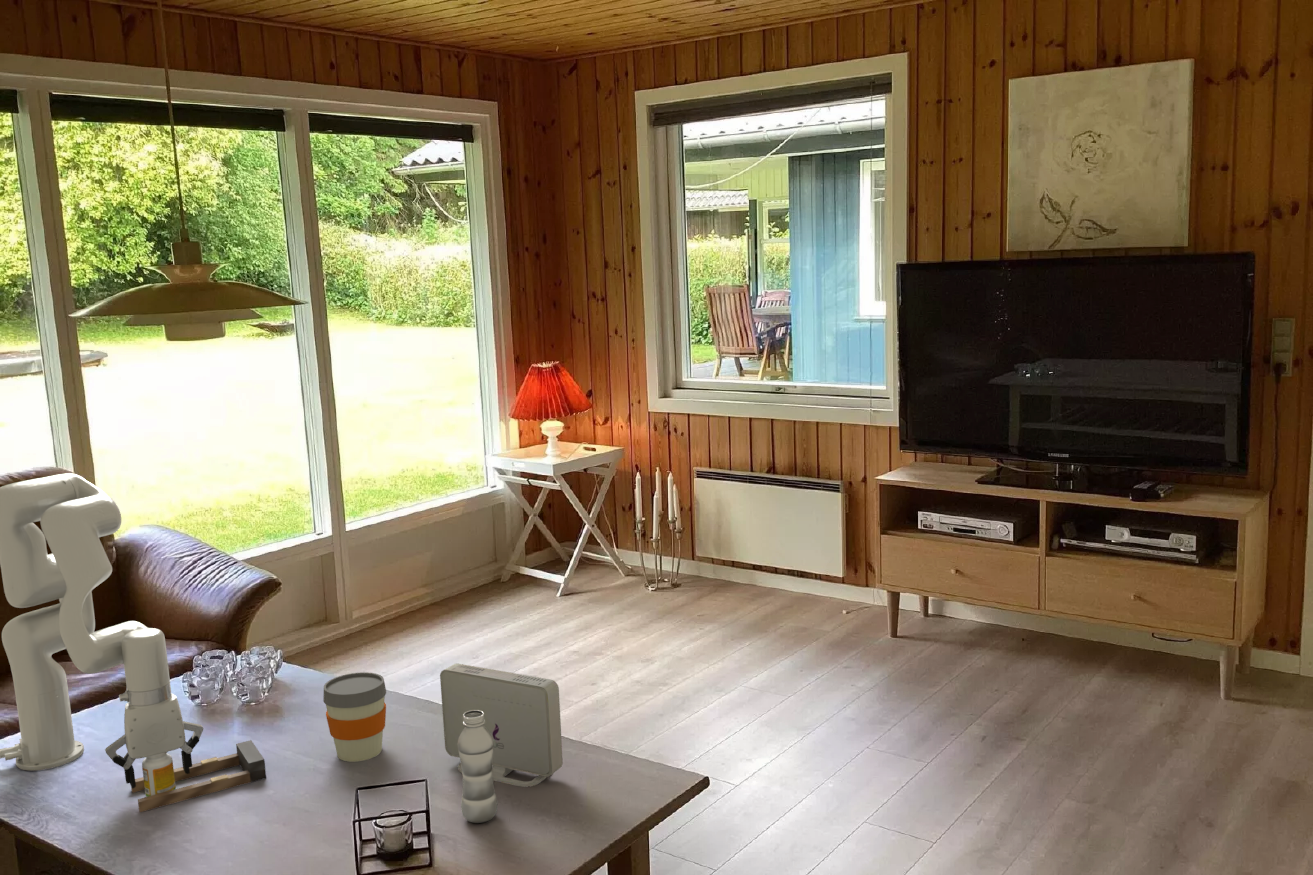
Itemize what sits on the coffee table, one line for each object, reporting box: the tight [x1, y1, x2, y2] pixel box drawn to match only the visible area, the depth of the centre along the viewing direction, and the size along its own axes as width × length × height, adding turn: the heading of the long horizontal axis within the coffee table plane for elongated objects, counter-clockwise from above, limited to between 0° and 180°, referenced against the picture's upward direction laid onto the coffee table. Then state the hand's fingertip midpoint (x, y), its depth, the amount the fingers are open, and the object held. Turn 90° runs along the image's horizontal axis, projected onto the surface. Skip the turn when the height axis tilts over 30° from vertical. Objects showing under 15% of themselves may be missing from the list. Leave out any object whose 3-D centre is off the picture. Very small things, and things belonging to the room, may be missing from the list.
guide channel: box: [130, 739, 267, 813], centre depth 220 cm, size 23×11×4 cm, turn 122°
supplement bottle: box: [141, 752, 177, 797], centre depth 215 cm, size 5×5×10 cm
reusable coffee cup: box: [322, 671, 387, 763], centre depth 231 cm, size 13×13×15 cm
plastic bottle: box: [457, 710, 499, 824], centre depth 201 cm, size 6×7×20 cm
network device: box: [439, 663, 564, 788], centre depth 219 cm, size 26×9×20 cm, turn 62°
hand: (160, 778), depth 216 cm, fingers open, 9 cm apart
